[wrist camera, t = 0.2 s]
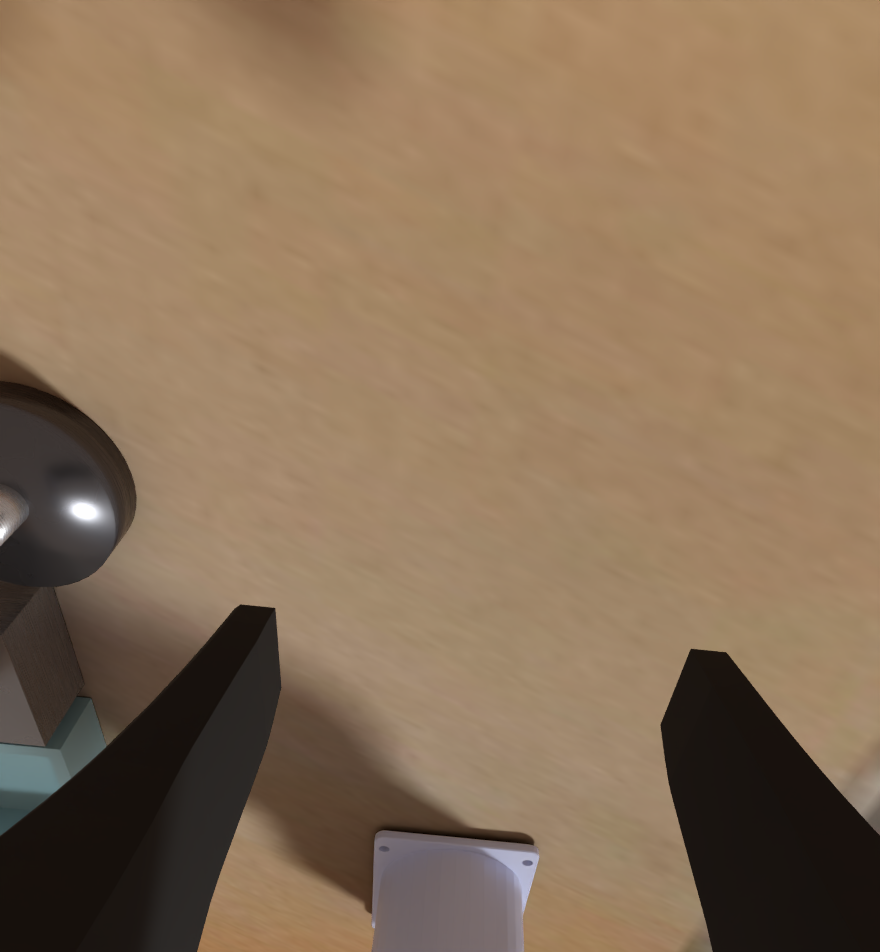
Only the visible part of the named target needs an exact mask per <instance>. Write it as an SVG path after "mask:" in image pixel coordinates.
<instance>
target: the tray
mask: <svg viewBox="0 0 880 952" xmlns="http://www.w3.org/2000/svg"><path fill="white" fill-rule="evenodd" d="M106 747H107V746H106V743H105V740H104V737H103V734H102V731H101V727H100V724H99V721H98V718H97V715H96V712H95V709H94V706H93V702H92V699H91V698H84V697H76V698H75V700H74V701H73V703H72V704H71V706H70V708H69V709H68V711H67V712H66V714H65V716H64V717H63V719H62V720H61V722H60V724H59V725H58V727H57V728H56V730H55V732H54V733H53V735H52V736H51V738H50V740H49V741H48V743H47V744H46V746H35V745H25V744H14V743H4V742H0V835H2V834H3V833H4V832H6V831H7V830H8V829H9V828H11V827H12V826H13V825H14V824H16V823H17V822H18V821H20V820H21V819H22V818H23V817H25V816H26V815H27V814H28V813H30V812H31V811H32V810H33V809H35V808H36V807H37V806H38V805H40V804H41V803H42V802H44V801H45V800H46V799H47V798H48V797H50V796H51V795H52V794H53V793H54V792H56V791H57V790H58V789H59V788H60V787H61V786H63V785H64V784H65V783H66V782H67V781H69V780H70V779H71V778H72V777H73V776H74V775H76V774H77V773H78V772H79V771H80V770H81V769H82V768H83V767H85V766H86V765H87V764H88V763H89V762H90V761H91V760H92V759H94V758H95V757H96V756H97V755H98V754H99V753H100V752H101V751H102V750H103V749H104V748H106Z"/></svg>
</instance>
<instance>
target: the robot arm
mask: <svg viewBox="0 0 880 952" xmlns="http://www.w3.org/2000/svg"><path fill="white" fill-rule="evenodd" d="M280 691H281V677H280V664H279V651H278V638H277V625H276V611H275V608H270V607H260V606H250V605H239V606H238V607H236V608H235V609H234V610H233V611H232V613H231V614H230V615H229V616H228V617H227V619H226V620H225V621H224V622H223V624H222V625H221V626H220V627H219V628H218V629H217V631H216V632H215V633H214V634H213V635H212V637H211V638H210V639H209V640H208V641H207V642H206V644H205V645H204V646H203V647H202V648H201V649H200V651H199V652H198V653H197V654H196V655H195V656H194V657H193V658H192V660H191V661H190V662H189V663H188V664H187V665H186V666H185V667H184V669H183V670H182V671H181V672H180V673H179V674H178V675H177V676H176V677H175V678H174V679H173V680H172V681H171V682H170V683H169V685H168V686H167V687H166V688H165V689H164V690H163V691H162V692H161V693H160V694H159V695H158V696H157V697H156V698H155V700H154V701H153V702H152V703H151V704H150V705H149V706H148V707H147V708H146V709H145V710H144V711H143V712H142V713H141V714H140V715H139V716H138V717H137V718H135V719H134V720H133V721H132V722H131V723H130V724H129V725H128V726H127V727H126V728H125V729H124V730H123V731H122V732H121V733H120V734H119V735H118V736H117V737H116V738H115V739H114V740H113V741H112V742H111V743H110V744H109V745H108V746H107V747H106V748H104V749H103V750H102V751H101V752H100V753H99V754H98V755H97V756H96V757H95V758H94V759H92V760H91V761H90V762H89V763H88V764H87V765H86V766H85V767H83V768H82V769H81V770H80V771H79V772H78V773H77V774H76V775H74V776H73V777H72V778H71V779H70V780H69V781H67V782H66V783H65V784H64V785H63V786H61V787H60V788H59V789H58V790H57V791H56V792H54V793H53V794H52V795H51V796H50V797H48V798H47V799H46V800H45V801H44V802H42V803H41V804H40V805H38V806H37V807H36V808H35V809H33V810H32V811H31V812H30V813H28V814H27V815H26V816H25V817H23V818H22V819H21V820H20V821H18V822H17V823H16V824H14V825H13V826H12V827H11V828H9V829H8V830H7V831H6V832H4V833H3V834H2V835H0V952H197V950H198V946H199V942H200V939H201V935H202V931H203V928H204V924H205V920H206V917H207V913H208V909H209V906H210V902H211V899H212V896H213V893H214V890H215V887H216V884H217V881H218V878H219V875H220V872H221V869H222V866H223V864H224V861H225V858H226V855H227V853H228V850H229V847H230V845H231V842H232V839H233V837H234V834H235V831H236V828H237V826H238V823H239V820H240V818H241V815H242V812H243V809H244V807H245V804H246V801H247V799H248V796H249V793H250V791H251V788H252V785H253V782H254V780H255V777H256V774H257V771H258V769H259V766H260V763H261V760H262V758H263V755H264V752H265V749H266V746H267V743H268V739H269V735H270V732H271V728H272V724H273V720H274V716H275V711H276V707H277V703H278V699H279V695H280ZM661 732H662V740H663V748H664V755H665V762H666V768H667V775H668V781H669V786H670V790H671V794H672V798H673V802H674V806H675V809H676V813H677V817H678V821H679V825H680V828H681V832H682V836H683V839H684V843H685V847H686V850H687V854H688V858H689V862H690V865H691V869H692V873H693V876H694V880H695V884H696V887H697V891H698V895H699V898H700V902H701V906H702V909H703V913H704V917H705V920H706V924H707V929H708V933H709V937H710V942H711V946H712V950H713V952H880V835H879V834H878V833H877V832H876V831H875V830H874V829H873V828H872V827H871V826H870V825H869V824H868V822H867V821H866V820H865V819H864V818H863V817H862V816H861V815H860V814H859V813H858V811H857V810H856V809H855V808H854V807H853V806H852V805H851V804H850V803H849V802H848V801H847V799H846V798H845V797H844V796H843V795H842V794H841V793H840V792H839V791H838V789H837V788H836V787H835V786H834V785H833V784H832V783H831V781H830V780H829V779H828V778H827V777H826V776H825V774H824V773H823V772H822V771H821V770H820V769H819V767H818V766H817V765H816V764H815V763H814V761H813V760H812V759H811V758H810V757H809V755H808V754H807V753H806V752H805V751H804V749H803V748H802V747H801V746H800V745H799V743H798V742H797V741H796V740H795V739H794V737H793V736H792V735H791V734H790V732H789V731H788V730H787V729H786V727H785V726H784V725H783V724H782V722H781V721H780V720H779V719H778V717H777V716H776V715H775V714H774V712H773V711H772V710H771V709H770V707H769V706H768V705H767V704H766V702H765V701H764V700H763V698H762V697H761V696H760V695H759V693H758V692H757V691H756V689H755V688H754V687H753V686H752V684H751V683H750V682H749V681H748V679H747V678H746V677H745V675H744V674H743V673H742V672H741V670H740V669H739V668H738V667H737V665H736V664H735V663H734V661H733V660H732V659H731V658H730V656H729V655H728V654H727V653H726V652H717V651H707V650H697V649H691V650H690V652H689V655H688V657H687V660H686V662H685V665H684V667H683V670H682V672H681V675H680V677H679V680H678V682H677V685H676V687H675V690H674V692H673V695H672V697H671V700H670V702H669V705H668V707H667V710H666V712H665V715H664V717H663V720H662V722H661ZM538 860H539V849H538V848H537V847H536V846H534V845H530V844H520V843H510V842H500V841H490V840H479V839H469V838H459V837H449V836H438V835H428V834H418V833H407V832H397V831H387V830H382V831H379V832H377V833H376V835H375V841H374V867H373V898H372V927H373V928H374V937H373V945H372V952H524V936H523V913H524V909H525V906H526V902H527V899H528V895H529V892H530V888H531V885H532V881H533V878H534V874H535V871H536V867H537V863H538Z"/></svg>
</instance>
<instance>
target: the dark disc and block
mask: <svg viewBox="0 0 880 952" xmlns="http://www.w3.org/2000/svg"><path fill="white" fill-rule="evenodd" d="M135 510H136V491H135V485H134V481H133V478H132V474H131V472H130V470H129V468H128V465H127V463H126V461H125V460H124V458H123V456H122V455H121V453H120V451H119V450H118V449H117V447H116V446H115V445H114V443H113V442H112V441H111V439H110V438H109V437H108V436H107V435H106V434H105V433H104V432H103V431H102V430H101V429H100V428H99V427H98V426H97V425H96V424H95V423H94V422H93V421H91V420H90V419H89V418H88V417H87V416H85V415H84V414H82V413H81V412H80V411H78V410H77V409H76V408H74V407H72V406H71V405H69V404H67V403H66V402H64V401H62V400H60V399H58V398H56V397H54V396H52V395H50V394H48V393H45V392H42V391H40V390H37V389H34V388H31V387H27V386H24V385H20V384H15V383H8V382H0V742H4V743H14V744H25V745H35V746H46V744H47V743H48V741H49V740H50V738H51V736H52V735H53V733H54V732H55V730H56V728H57V727H58V725H59V724H60V722H61V720H62V719H63V717H64V716H65V714H66V712H67V711H68V709H69V708H70V706H71V704H72V703H73V701H74V700H75V698H76V696H77V695H78V693H79V692H80V690H81V688H82V687H83V685H84V682H83V678H82V675H81V672H80V669H79V666H78V663H77V660H76V657H75V654H74V651H73V647H72V644H71V641H70V638H69V635H68V632H67V629H66V626H65V623H64V620H63V616H62V613H61V610H60V607H59V604H58V601H57V598H56V595H55V592H54V589H53V587H57V586H63V585H68V584H72V583H75V582H78V581H80V580H82V579H84V578H87V577H89V576H90V575H91V574H93V573H94V572H96V571H97V570H98V569H99V568H100V567H101V566H102V565H103V564H104V562H105V561H106V560H107V558H108V557H109V556H110V554H111V553H112V551H113V550H114V549H115V547H116V546H117V545H118V543H119V542H120V541H121V539H122V538H123V536H124V535H125V534H126V532H127V531H128V529H129V528H130V526H131V523H132V521H133V519H134V515H135Z"/></svg>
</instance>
